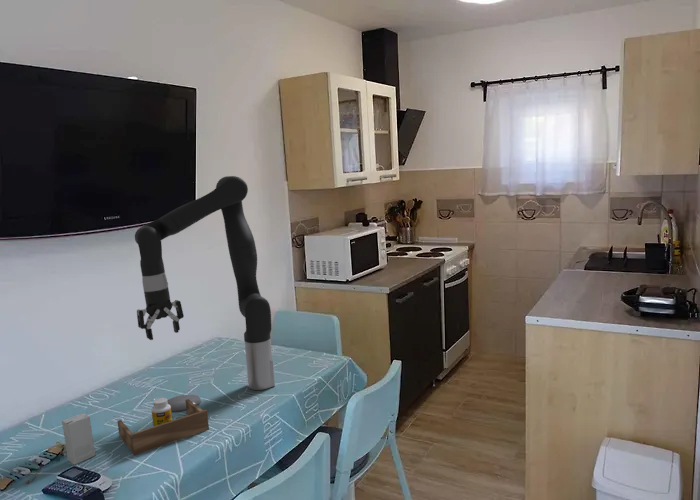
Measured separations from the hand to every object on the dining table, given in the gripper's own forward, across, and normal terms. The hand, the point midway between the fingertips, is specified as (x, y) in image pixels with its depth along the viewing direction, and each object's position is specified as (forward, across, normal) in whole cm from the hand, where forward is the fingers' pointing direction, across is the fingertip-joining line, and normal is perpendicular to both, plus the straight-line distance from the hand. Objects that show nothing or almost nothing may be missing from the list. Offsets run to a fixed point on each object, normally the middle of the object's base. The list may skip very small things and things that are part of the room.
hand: (163, 335), depth 182 cm
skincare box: (+24, +33, +14) cm, 43 cm away
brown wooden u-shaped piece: (+25, +10, +15) cm, 31 cm away
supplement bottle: (+25, +10, +15) cm, 31 cm away
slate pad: (+25, -3, -1) cm, 25 cm away
